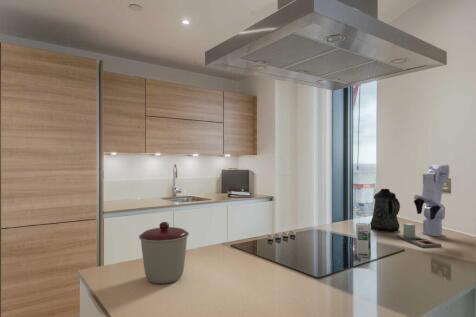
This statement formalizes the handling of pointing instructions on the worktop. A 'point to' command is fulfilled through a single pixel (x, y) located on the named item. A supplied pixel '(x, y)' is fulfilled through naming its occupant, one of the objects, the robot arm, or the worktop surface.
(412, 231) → the peg
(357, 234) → the syrup box
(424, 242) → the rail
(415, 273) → the worktop surface
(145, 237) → the canister
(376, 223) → the beer stein
